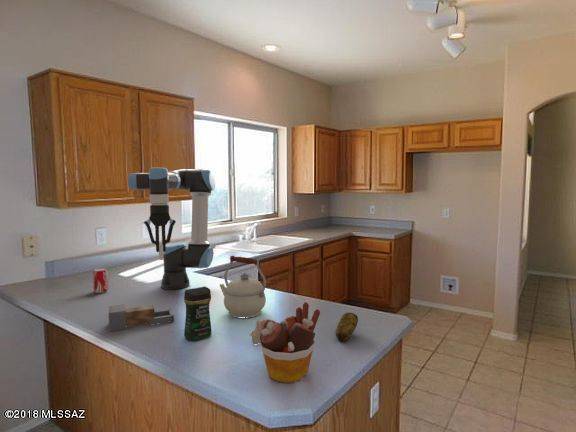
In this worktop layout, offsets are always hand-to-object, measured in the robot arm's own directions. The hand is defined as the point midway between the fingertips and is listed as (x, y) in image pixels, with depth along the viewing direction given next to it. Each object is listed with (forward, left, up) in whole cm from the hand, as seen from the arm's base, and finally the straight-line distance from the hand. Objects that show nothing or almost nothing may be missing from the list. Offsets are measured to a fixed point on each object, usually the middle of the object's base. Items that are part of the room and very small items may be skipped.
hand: (161, 259), depth 161 cm
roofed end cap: (+18, +6, -24) cm, 31 cm away
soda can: (+25, -49, -25) cm, 60 cm away
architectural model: (-28, +44, -25) cm, 58 cm away
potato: (-59, +53, -25) cm, 83 cm away
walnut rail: (+11, +6, -25) cm, 28 cm away
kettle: (-32, +12, -25) cm, 42 cm away
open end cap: (+1, +6, -24) cm, 25 cm away
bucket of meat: (-28, +69, -25) cm, 78 cm away
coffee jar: (-9, +30, -25) cm, 40 cm away
